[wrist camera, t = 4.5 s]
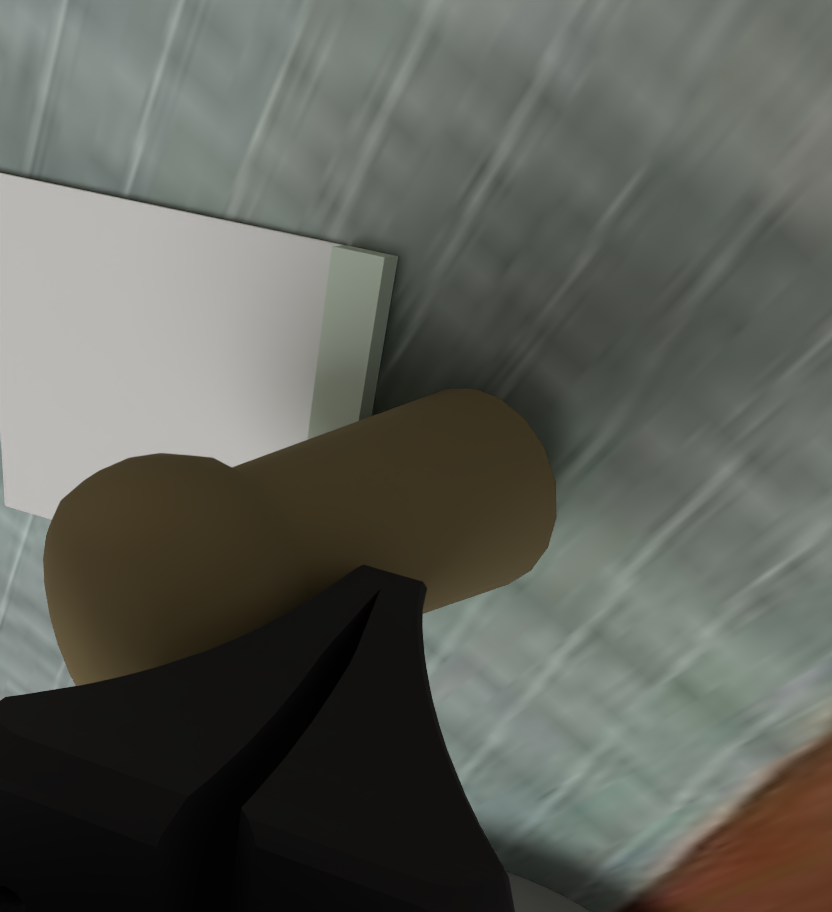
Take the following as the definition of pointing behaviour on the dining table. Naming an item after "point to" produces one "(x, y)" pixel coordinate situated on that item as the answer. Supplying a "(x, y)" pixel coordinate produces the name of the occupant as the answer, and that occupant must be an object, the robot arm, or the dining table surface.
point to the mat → (146, 336)
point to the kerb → (351, 337)
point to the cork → (292, 530)
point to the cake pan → (539, 898)
